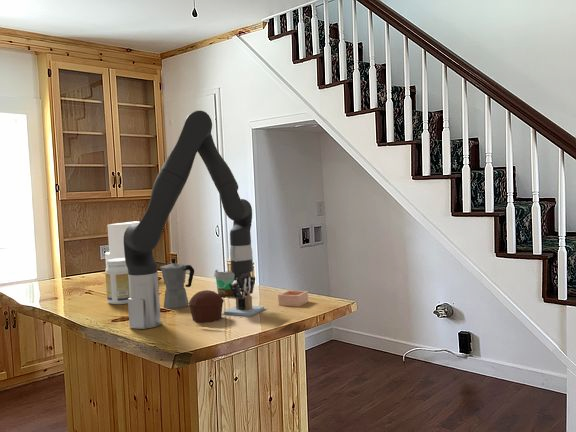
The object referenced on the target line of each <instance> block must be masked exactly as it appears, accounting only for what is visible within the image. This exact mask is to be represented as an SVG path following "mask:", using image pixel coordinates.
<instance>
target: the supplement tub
mask: <svg viewBox="0 0 576 432" xmlns="http://www.w3.org/2000/svg"><path fill="white" fill-rule="evenodd" d="M107 265H108V267H107V268H106V267H105V271H104V273H105V287H106V300H107V303H109V304H110V305H124V304H125V305H128V299H129V298H130V292H129V276H128V268H127V266H126V262H125V258H116V259H110V260H107Z"/></svg>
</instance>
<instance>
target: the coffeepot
mask: <svg viewBox="0 0 576 432" xmlns="http://www.w3.org/2000/svg"><path fill="white" fill-rule="evenodd" d="M170 260H171V263H169V264H165V265H162V266H159V267H158V268H159V269H160V270H161V273H162V278H163V284H164V286H165V291H164V301H163V307H164V308H165V309H169V310H173V309H175V310H176V309H182V308H183V309H184V308H186V307H188V306H189V299H188V296H187V295H188V294H187V291H186V288H190V287H191V286H192V282H193V277H194V275H195V269H194V267H193V266H192V265H191V264H181V263H176V258H173V257H172V258H170ZM187 271H189V273H188V274H189V276H188V280H187V281H188V282H187V284H185V283H186V274H187V273H186V272H187ZM185 287H186V288H185Z"/></svg>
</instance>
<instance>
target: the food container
mask: <svg viewBox="0 0 576 432" xmlns="http://www.w3.org/2000/svg"><path fill="white" fill-rule="evenodd" d="M213 277H214V278H215V281H216V282H215V283H216V288H217V294H219V295H220V296H221V297H222V298H234V296H233V293H232V290H231V288H230V283H233V282H234V273H232V272H231V270H230V271H229V270H228V271H227V270H226V271H219V269H215V270H214V273H213ZM239 289H240V288H239ZM236 294H237V293H236Z"/></svg>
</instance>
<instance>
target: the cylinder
mask: <svg viewBox="0 0 576 432" xmlns="http://www.w3.org/2000/svg"><path fill="white" fill-rule="evenodd" d="M136 223H140V221H138V220H137V221H127V222H118V223H110V224H107V239H108V240H107V241H108V251H107V252H105V253H104V254H105V255H104V258H105V269H106V268H107V267H108V265H107V260H110V259H116V258H125V253H124V233H125V231H126V229H127V228H128V227H129V226H130V225H132V224H136Z"/></svg>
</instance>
